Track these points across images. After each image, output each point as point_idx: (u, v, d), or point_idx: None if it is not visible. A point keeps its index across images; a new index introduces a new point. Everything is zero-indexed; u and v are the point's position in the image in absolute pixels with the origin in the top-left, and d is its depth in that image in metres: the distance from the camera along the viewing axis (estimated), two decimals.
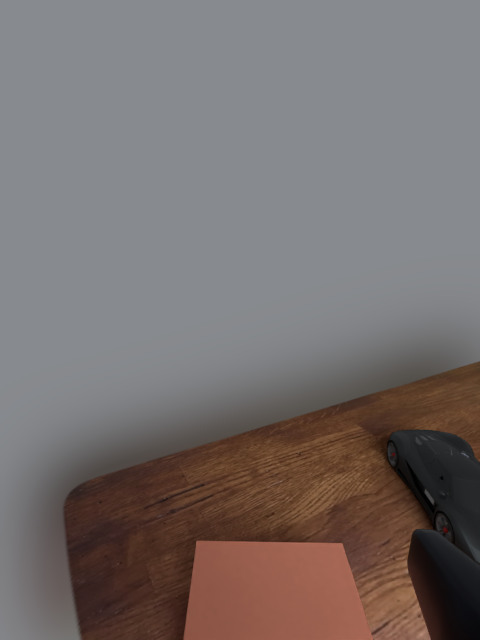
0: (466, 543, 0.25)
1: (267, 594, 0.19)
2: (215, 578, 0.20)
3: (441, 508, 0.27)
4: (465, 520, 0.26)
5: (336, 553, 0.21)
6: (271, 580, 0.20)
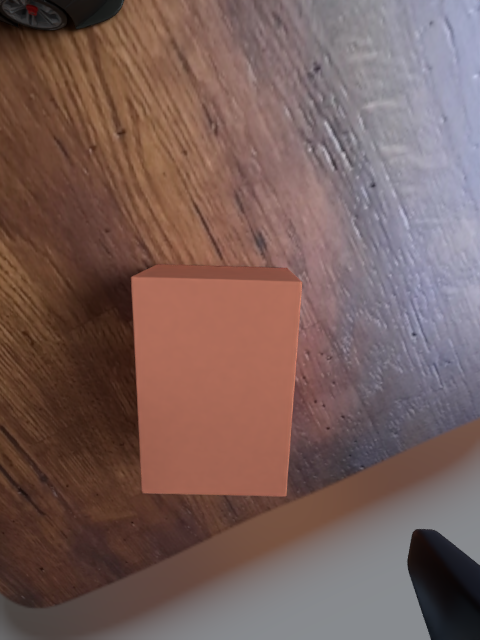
0: None
1: (221, 405, 0.14)
2: (200, 468, 0.14)
3: None
4: None
5: (153, 293, 0.12)
6: (201, 398, 0.14)
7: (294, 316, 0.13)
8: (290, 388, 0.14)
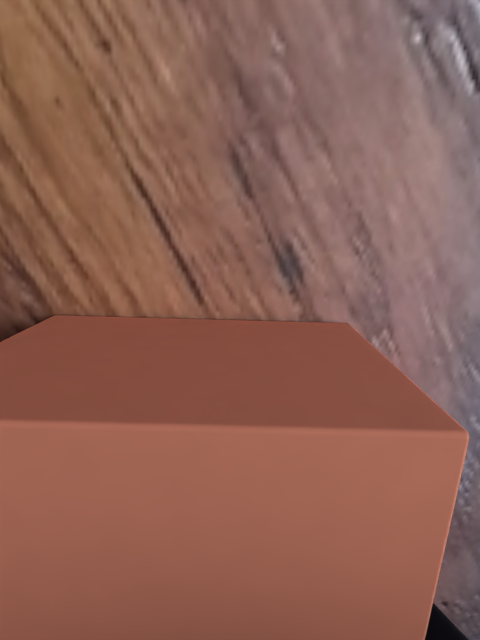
0: None
1: None
2: None
3: None
4: None
5: None
6: None
7: (432, 542, 0.04)
8: None
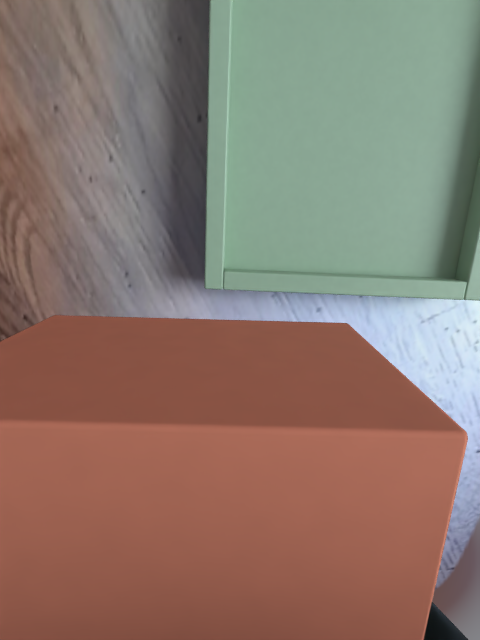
0: None
1: None
2: None
3: None
4: None
5: None
6: None
7: (431, 542, 0.04)
8: None
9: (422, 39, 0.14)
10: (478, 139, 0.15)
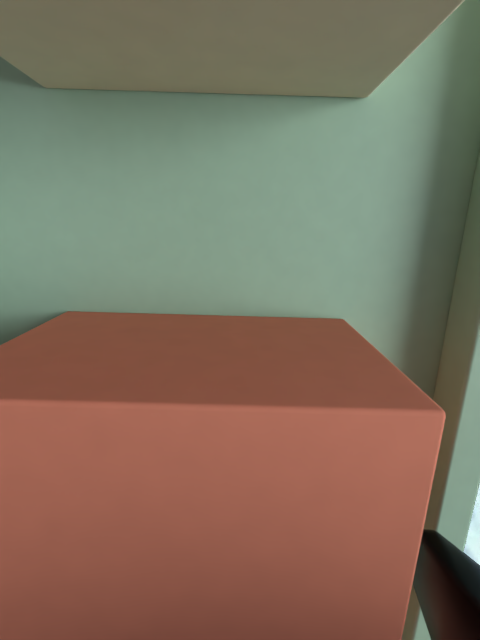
0: None
1: None
2: None
3: None
4: None
5: None
6: None
7: (414, 510, 0.04)
8: None
9: None
10: None
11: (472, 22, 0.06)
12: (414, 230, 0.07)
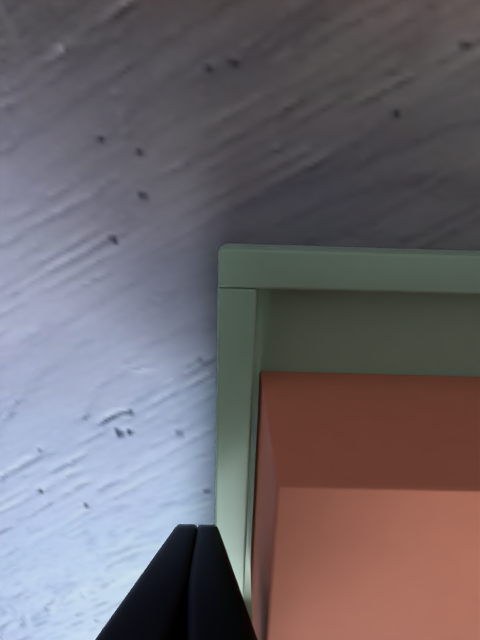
0: None
1: None
2: (350, 618, 0.06)
3: None
4: None
5: None
6: None
7: None
8: None
9: None
10: None
11: None
12: None
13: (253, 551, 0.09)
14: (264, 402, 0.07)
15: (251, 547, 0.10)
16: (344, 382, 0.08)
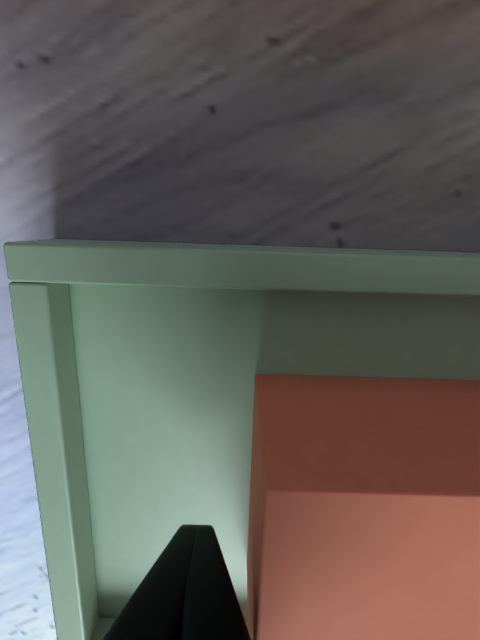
0: None
1: None
2: (340, 622, 0.06)
3: None
4: None
5: None
6: None
7: None
8: None
9: None
10: None
11: None
12: None
13: (249, 553, 0.09)
14: (257, 405, 0.07)
15: None
16: (339, 385, 0.08)
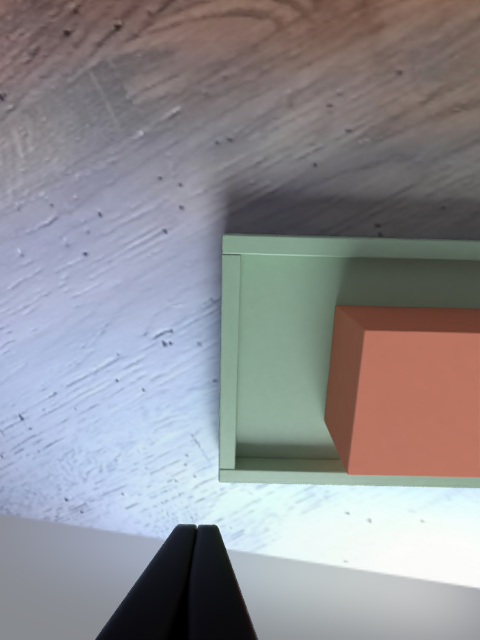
0: None
1: (464, 415, 0.13)
2: (392, 393, 0.13)
3: None
4: None
5: None
6: (475, 396, 0.13)
7: None
8: (470, 474, 0.14)
9: None
10: None
11: None
12: None
13: (331, 404, 0.17)
14: (345, 314, 0.15)
15: (326, 409, 0.17)
16: (382, 308, 0.16)
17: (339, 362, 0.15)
